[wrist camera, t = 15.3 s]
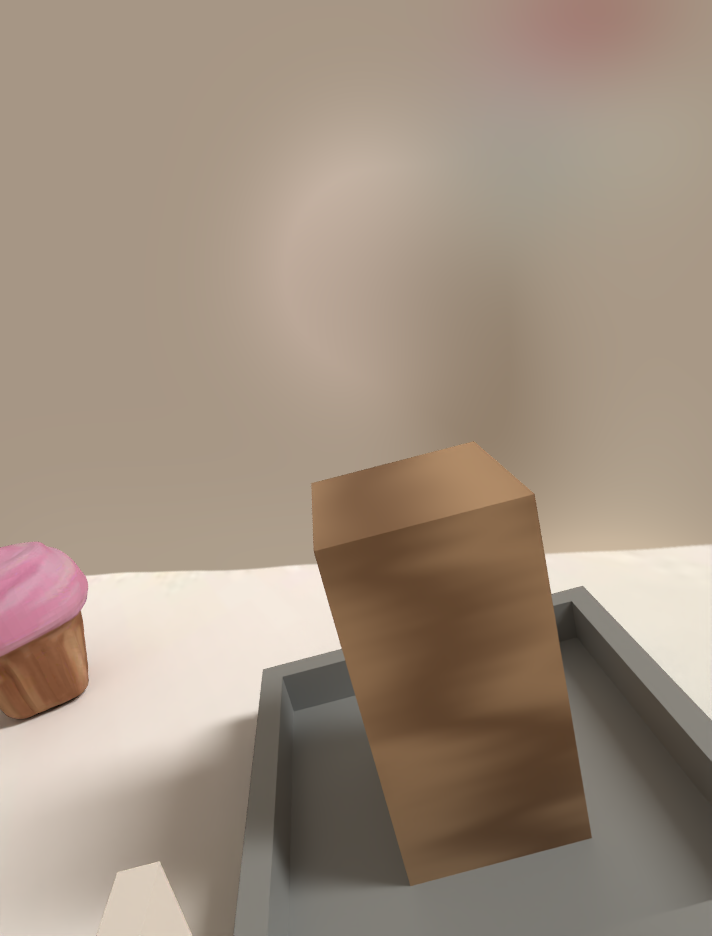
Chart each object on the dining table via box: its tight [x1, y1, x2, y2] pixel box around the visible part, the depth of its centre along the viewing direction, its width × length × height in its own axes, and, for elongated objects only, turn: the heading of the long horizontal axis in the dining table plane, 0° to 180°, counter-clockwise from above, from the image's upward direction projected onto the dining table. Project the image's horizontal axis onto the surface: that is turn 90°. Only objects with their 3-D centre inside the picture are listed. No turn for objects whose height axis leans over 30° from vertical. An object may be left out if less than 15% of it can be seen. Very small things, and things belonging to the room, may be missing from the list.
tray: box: [233, 586, 712, 936], centre depth 22 cm, size 16×16×3 cm
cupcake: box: [0, 542, 89, 719], centre depth 36 cm, size 9×9×10 cm
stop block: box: [312, 441, 592, 886], centre depth 21 cm, size 6×6×12 cm
